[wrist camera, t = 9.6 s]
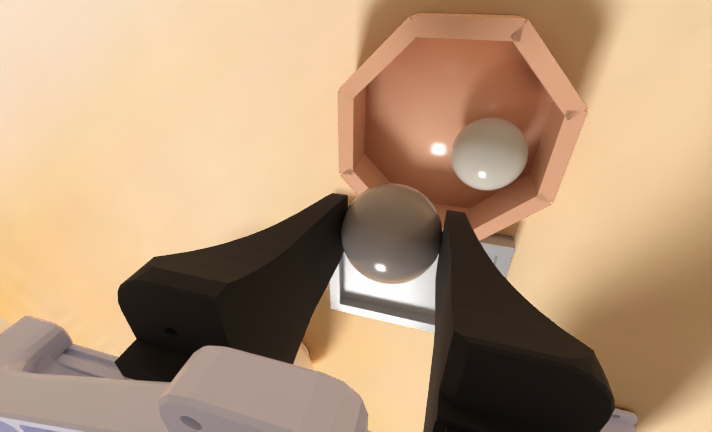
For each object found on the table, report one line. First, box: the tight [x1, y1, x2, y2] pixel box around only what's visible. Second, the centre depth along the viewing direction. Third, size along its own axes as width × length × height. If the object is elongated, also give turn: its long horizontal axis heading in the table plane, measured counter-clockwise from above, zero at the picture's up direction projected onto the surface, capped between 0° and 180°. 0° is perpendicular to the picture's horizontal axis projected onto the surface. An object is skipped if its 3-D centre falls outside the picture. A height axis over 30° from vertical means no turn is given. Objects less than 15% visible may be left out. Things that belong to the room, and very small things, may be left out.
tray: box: [330, 234, 515, 333], centre depth 25 cm, size 12×9×1 cm
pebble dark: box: [341, 183, 443, 284], centre depth 12 cm, size 4×4×4 cm
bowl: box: [338, 13, 588, 241], centre depth 18 cm, size 11×11×3 cm
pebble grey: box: [451, 117, 528, 190], centre depth 17 cm, size 4×4×4 cm
